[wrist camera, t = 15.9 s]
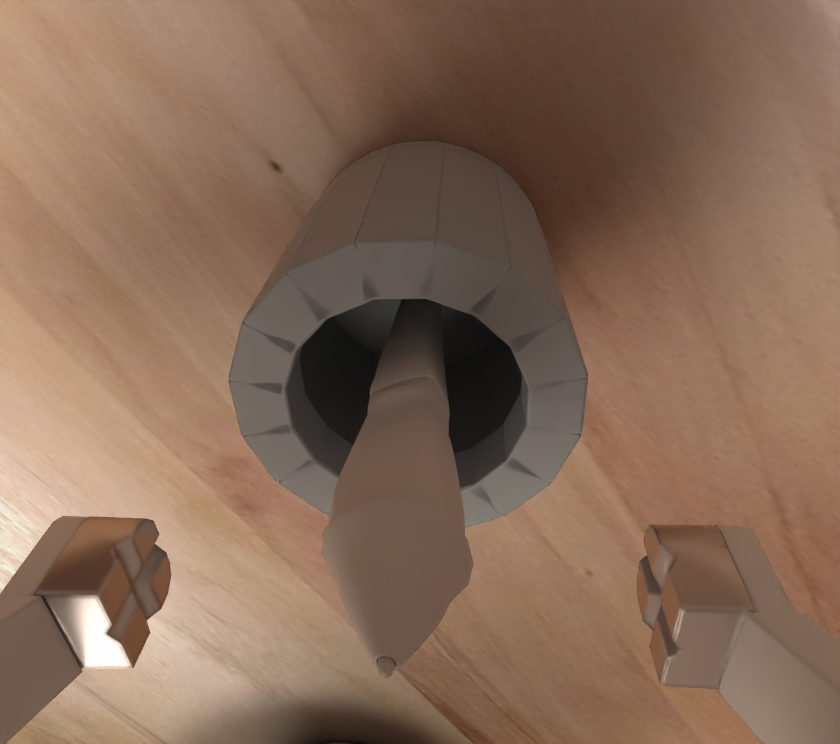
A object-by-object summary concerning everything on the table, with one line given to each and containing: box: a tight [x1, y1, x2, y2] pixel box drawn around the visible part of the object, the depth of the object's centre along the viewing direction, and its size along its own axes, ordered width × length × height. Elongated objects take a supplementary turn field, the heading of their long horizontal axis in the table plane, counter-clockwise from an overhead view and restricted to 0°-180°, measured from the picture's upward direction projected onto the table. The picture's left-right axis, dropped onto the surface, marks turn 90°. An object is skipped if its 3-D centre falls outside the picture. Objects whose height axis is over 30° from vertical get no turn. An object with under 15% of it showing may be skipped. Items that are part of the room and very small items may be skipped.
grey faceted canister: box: [229, 141, 588, 527], centre depth 18 cm, size 8×8×8 cm
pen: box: [322, 299, 473, 678], centre depth 15 cm, size 2×3×14 cm
